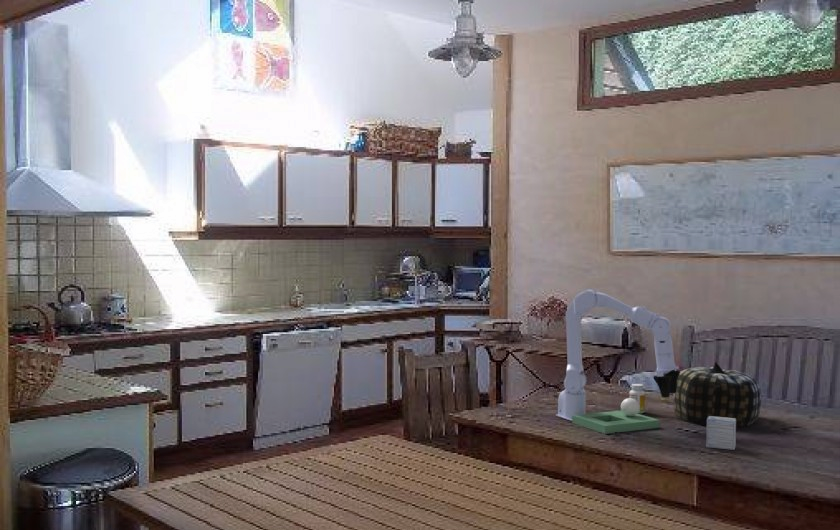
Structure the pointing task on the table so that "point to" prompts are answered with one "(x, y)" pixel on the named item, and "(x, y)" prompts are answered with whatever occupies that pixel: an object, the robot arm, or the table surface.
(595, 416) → the putting board
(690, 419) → the decorative pumpkin
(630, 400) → the white ball
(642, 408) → the supplement bottle
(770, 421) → the table surface
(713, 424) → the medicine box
